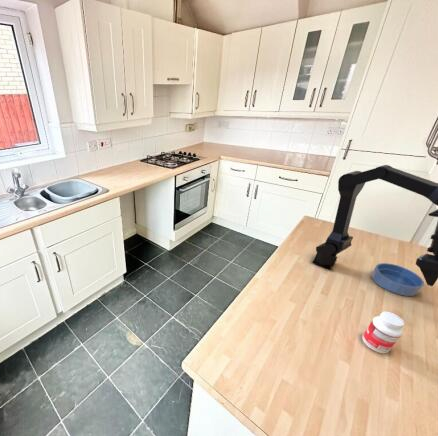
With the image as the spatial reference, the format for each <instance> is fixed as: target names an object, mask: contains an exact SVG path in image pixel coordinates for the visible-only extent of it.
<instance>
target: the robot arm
mask: <svg viewBox="0 0 438 436" xmlns="http://www.w3.org/2000/svg"><path fill="white" fill-rule="evenodd" d="M376 180H381V181H384V182H386V183H389V184H391V185H394V186H397V187H399V188H402V189H404V190H407V191H410V192H412V193H414V194H418V195H420V196H422V197H424V198H425V199H428V200H429V201H430V202H431V203H432V204H433V205H435V206H437V207H438V182H435V181H433V180H430V179H426V178H423V177H421V176H419V175H415V174H412V173H410V172H406V171H404V170H401V169H398V168H395V167H393V166H391V165H389V164H382V165H380V166H377V167H375V168H371V169H367V170H365V171H360V170H354V171H351V172H348V173H344V174H343V175H341V176H340V177H339V178H338V182H337V190H338V195H339V201H338V205H337V210H336V214H335V218H334V223H333V227H332V231H331V232H330V233H329V235H328V236H327V238H326V240H325V242H323V243H321V244H319V245H317V246H316V247H315V252H316V253H315V256H314V258H313V260H312V262H311V263H312V264H314V265H315V266H317V267H322V268H323V269H325V270H328V271H330V270H331V269H332V268H333V267H334V266H335V264H336V262H337V259H338V257H339V256H337V255H338V254H340V253H342V252H344V251H345V250H347V249H348V248H350V247H352V241H353V239H354V236H352V235H349V227H350V225H351V224H350V223H351V220H352V216H353V213H354V209H355V204H356V200H357V197H358V196H359V194H360V193H361V191H362V190H363V189H364V186H365V185H366V183H368V182H372V181H376ZM427 215H428V216H429V217H434V218H438V208H437V209H435V210H433V211H431V212H429V213H428V214H427ZM430 240H431V242H430V246H429V247H428V248H427V249H426V252H428V253H423V254H420V256H419V257H417V258H416V261H415V265H416V266H417V267H418V268H419V270H420V272H421V274H422V277H423V278H424V280H425V281H424V282H425V283H426V285H427V286H429V287H433V286H434V285H435V284H436V283H437V281H438V220H437V222H436V226H435V229H434V232H433V234H432V235H430ZM430 253H431V254H430Z"/></svg>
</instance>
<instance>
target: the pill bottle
mask: <svg viewBox="0 0 438 436" xmlns="http://www.w3.org/2000/svg"><path fill="white" fill-rule="evenodd" d="M404 325H405V321H404V320H403V319H402V318H401V317H400V316H399V315H397V314H396V313H393V312H390V311H382V312H381V313H380V315H377V316H375V317H373V319H372V320H371V321H370V323H369V325H368V326H367V328H366V330H365V331H364V333H363V334H362V337H361V338H362V341H363V344H365V345H366V346H367V347H368V348H369V349H370V350H372V351H375V352H377V353H380V354H387V353H389V352H390V351H391V349H392V348H393V347H394V345H395V344H396V343H397V342H398V340H399V339H400V338H401V337H402V336H403V333H404V332H403V329H402V328H403V327H404Z"/></svg>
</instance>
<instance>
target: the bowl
mask: <svg viewBox="0 0 438 436" xmlns="http://www.w3.org/2000/svg"><path fill="white" fill-rule="evenodd" d="M370 276H371V279H372V280H373V282H374V283H375V284H377V286H379V287H381V288H383V289H385V290H387V291H389V292H391V293H393V294H397V295H401V296H405V297H406V296H407V297H414V296H417V295H419V293H420V291H421V290H422V289H423V287H424V286H425V281H424V280H423V278H422V277H421V276H419V274H417V273H415V272H414V271H412V270H410V269H408V268H406V267H404V266H400V265H397V264H393V263H388V262H381V263H380V262H379V263H378V264H375V267H374V269H373V270H372V272H371V274H370Z"/></svg>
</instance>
